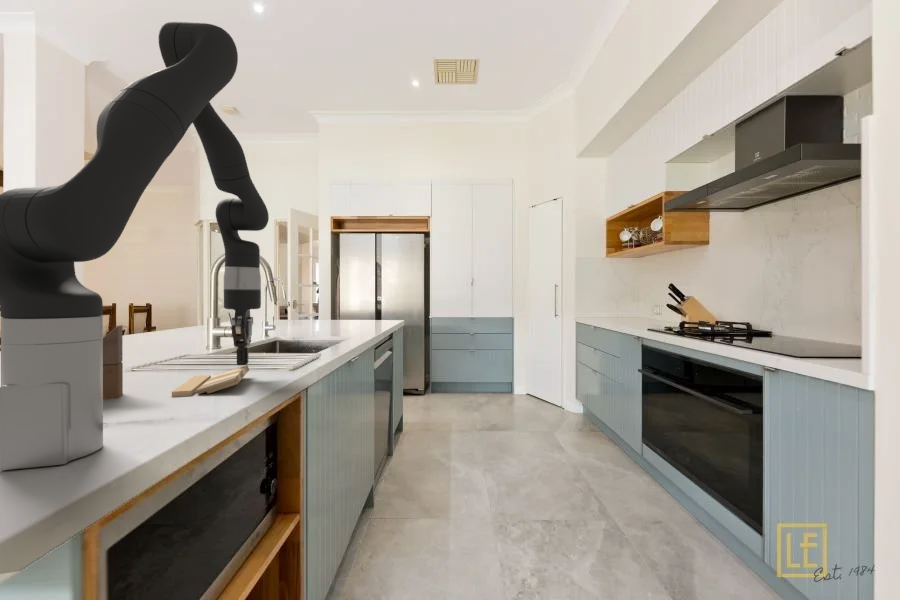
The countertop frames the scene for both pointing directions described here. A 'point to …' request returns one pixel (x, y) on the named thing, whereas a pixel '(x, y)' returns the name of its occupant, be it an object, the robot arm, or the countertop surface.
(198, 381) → the floor section
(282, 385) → the countertop surface
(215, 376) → the board
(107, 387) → the wooden block
